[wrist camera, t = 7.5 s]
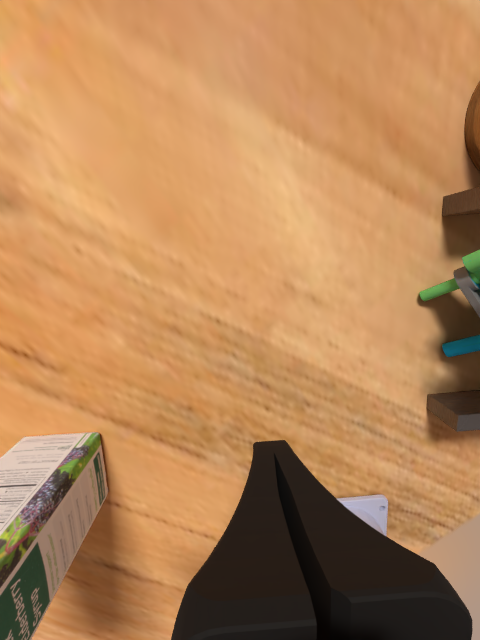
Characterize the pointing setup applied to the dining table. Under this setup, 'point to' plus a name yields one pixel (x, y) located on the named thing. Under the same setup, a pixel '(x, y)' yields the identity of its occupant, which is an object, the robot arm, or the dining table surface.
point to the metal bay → (469, 405)
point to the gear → (476, 285)
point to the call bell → (473, 127)
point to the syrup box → (44, 521)
